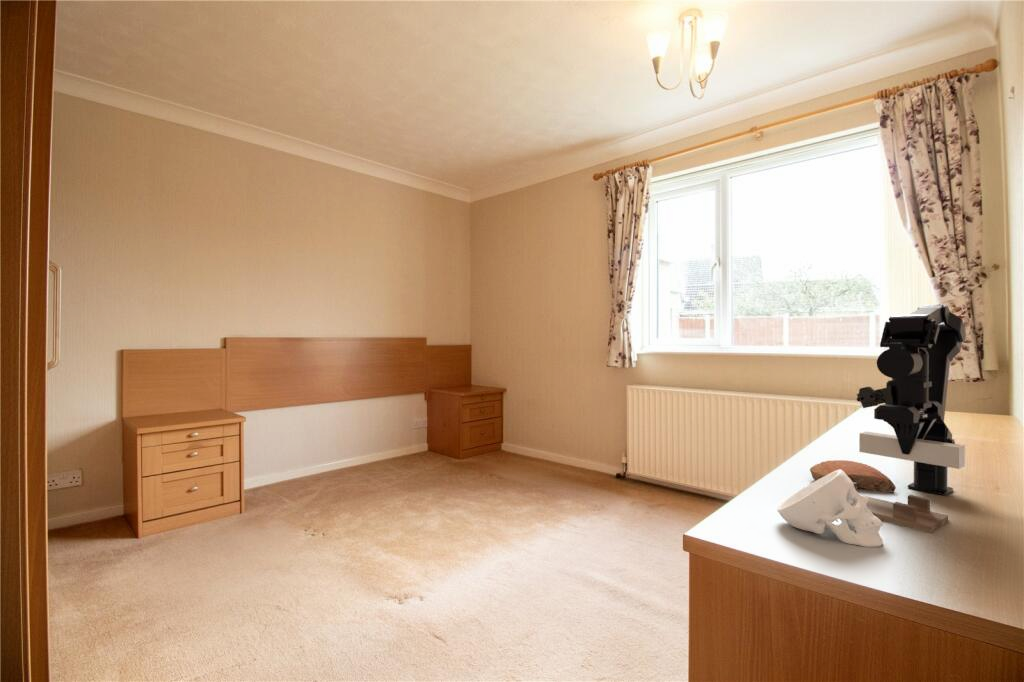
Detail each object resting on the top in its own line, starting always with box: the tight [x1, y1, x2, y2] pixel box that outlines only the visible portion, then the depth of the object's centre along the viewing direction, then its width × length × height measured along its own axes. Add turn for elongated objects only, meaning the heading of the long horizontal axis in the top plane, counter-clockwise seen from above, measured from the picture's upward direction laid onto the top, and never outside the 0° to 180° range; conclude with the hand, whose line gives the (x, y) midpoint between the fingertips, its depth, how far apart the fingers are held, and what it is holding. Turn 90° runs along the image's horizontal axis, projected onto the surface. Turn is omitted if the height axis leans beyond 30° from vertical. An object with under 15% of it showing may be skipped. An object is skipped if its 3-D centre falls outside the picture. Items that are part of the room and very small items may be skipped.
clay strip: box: [858, 431, 966, 470], centre depth 96 cm, size 4×16×4 cm, turn 34°
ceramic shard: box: [809, 459, 896, 493], centre depth 113 cm, size 15×6×15 cm
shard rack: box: [850, 482, 949, 534], centre depth 94 cm, size 10×20×4 cm, turn 34°
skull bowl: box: [776, 469, 884, 548], centre depth 83 cm, size 10×14×12 cm
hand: (909, 452), depth 96 cm, fingers closed on clay strip, 3 cm apart
